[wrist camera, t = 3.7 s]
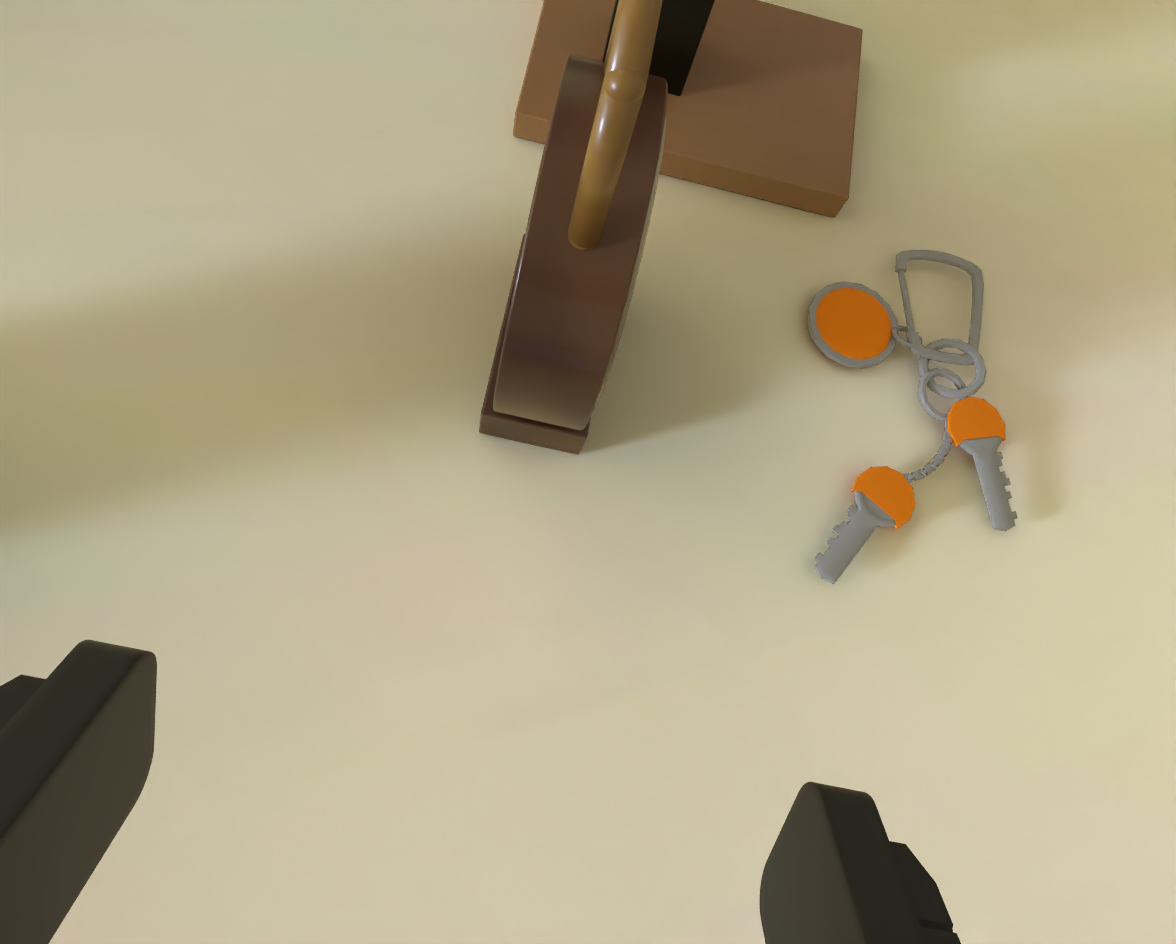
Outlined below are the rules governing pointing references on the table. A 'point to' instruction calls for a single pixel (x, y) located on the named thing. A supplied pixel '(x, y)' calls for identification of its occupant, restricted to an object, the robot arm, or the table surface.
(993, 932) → the table surface
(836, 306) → the key chain
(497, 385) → the clock
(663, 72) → the stand
